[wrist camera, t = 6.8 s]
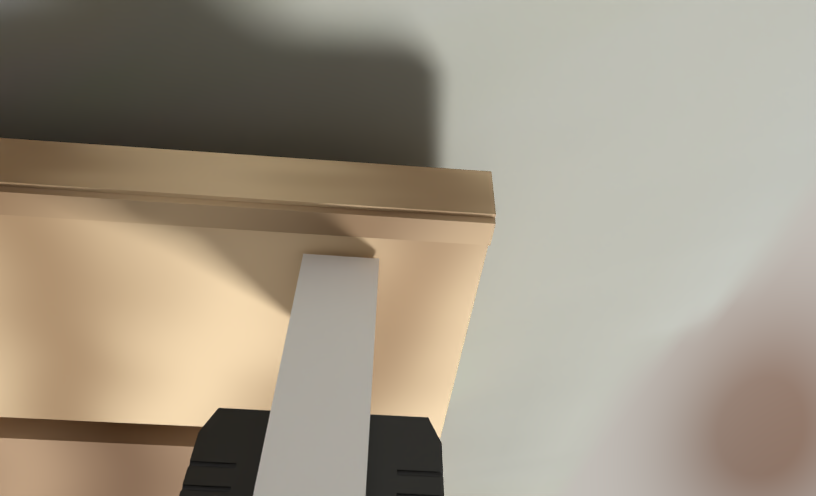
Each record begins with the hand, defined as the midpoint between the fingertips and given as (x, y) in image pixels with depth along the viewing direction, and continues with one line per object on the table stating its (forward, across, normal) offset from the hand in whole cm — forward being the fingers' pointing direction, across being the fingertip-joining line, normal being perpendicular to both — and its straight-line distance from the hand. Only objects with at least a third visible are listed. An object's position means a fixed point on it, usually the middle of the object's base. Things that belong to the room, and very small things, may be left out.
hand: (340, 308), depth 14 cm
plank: (+2, -7, -2) cm, 8 cm away
